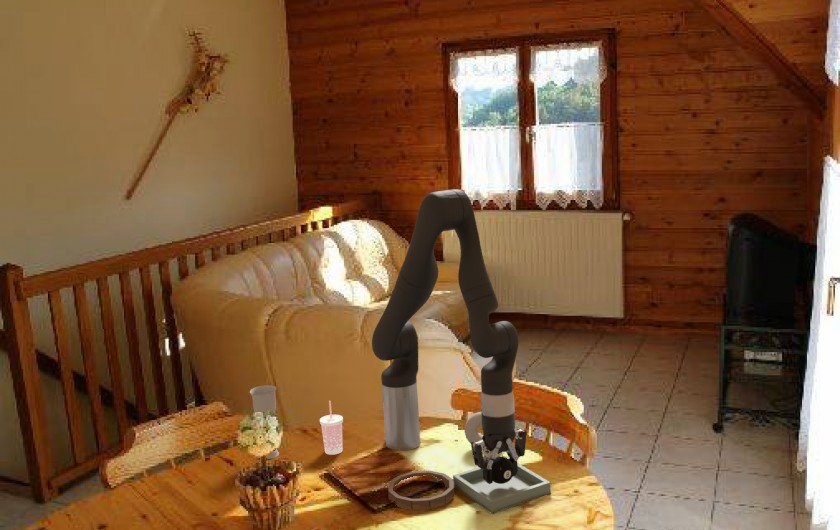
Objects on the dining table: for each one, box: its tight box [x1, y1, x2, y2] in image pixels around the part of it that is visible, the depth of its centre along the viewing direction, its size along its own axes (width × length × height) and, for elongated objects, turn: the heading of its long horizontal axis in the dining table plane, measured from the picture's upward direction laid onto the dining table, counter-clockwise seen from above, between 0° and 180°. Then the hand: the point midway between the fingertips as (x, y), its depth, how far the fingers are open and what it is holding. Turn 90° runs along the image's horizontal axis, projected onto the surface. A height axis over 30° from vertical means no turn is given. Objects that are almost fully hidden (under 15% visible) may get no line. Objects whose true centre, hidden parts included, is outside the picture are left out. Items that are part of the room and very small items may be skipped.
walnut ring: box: [387, 470, 455, 511], centre depth 187 cm, size 15×15×2 cm
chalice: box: [249, 384, 280, 460], centre depth 212 cm, size 7×7×18 cm
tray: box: [452, 457, 552, 515], centre depth 187 cm, size 16×16×3 cm
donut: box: [464, 411, 485, 449], centre depth 210 cm, size 10×4×10 cm, turn 96°
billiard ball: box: [491, 455, 514, 484], centre depth 186 cm, size 6×6×6 cm
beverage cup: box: [319, 400, 344, 456], centre depth 213 cm, size 6×6×14 cm
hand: (500, 478), depth 186 cm, fingers closed on billiard ball, 6 cm apart
